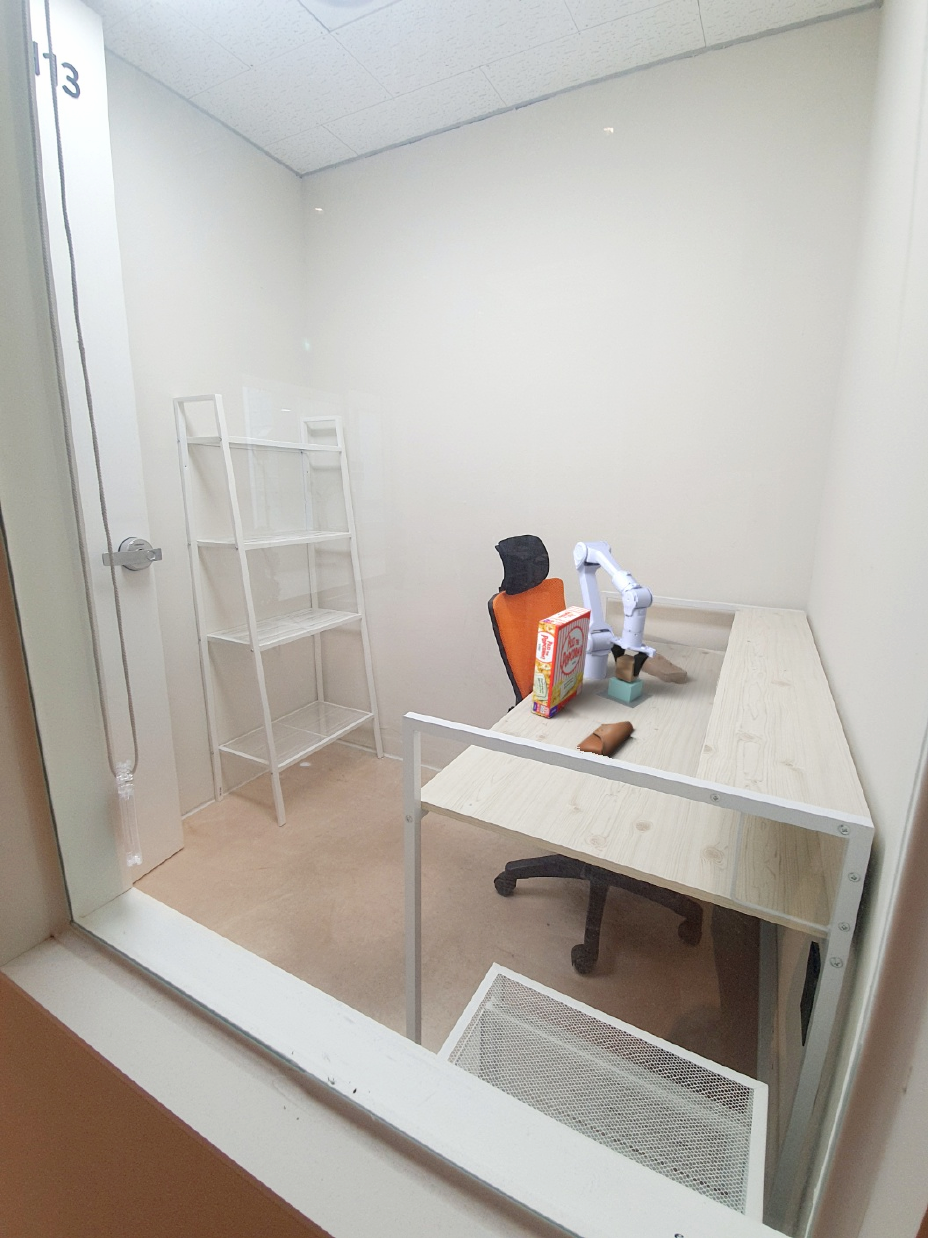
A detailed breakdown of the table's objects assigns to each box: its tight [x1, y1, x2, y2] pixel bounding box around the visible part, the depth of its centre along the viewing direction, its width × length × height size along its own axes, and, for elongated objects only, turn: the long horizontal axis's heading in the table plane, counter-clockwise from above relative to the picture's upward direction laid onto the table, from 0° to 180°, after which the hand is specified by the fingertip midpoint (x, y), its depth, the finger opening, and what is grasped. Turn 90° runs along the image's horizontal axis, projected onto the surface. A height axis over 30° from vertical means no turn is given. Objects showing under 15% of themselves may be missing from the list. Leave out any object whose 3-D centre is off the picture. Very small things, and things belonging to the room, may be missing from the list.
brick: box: [641, 652, 688, 685], centre depth 176 cm, size 17×8×5 cm, turn 17°
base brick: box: [608, 675, 644, 702], centre depth 158 cm, size 7×7×5 cm
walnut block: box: [614, 653, 640, 682], centre depth 156 cm, size 5×5×6 cm
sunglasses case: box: [577, 720, 634, 758], centre depth 135 cm, size 18×7×7 cm
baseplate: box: [596, 686, 653, 709], centre depth 159 cm, size 12×12×1 cm
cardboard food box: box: [530, 605, 591, 718], centre depth 151 cm, size 20×6×27 cm, turn 143°
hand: (627, 672), depth 157 cm, fingers closed on walnut block, 5 cm apart
